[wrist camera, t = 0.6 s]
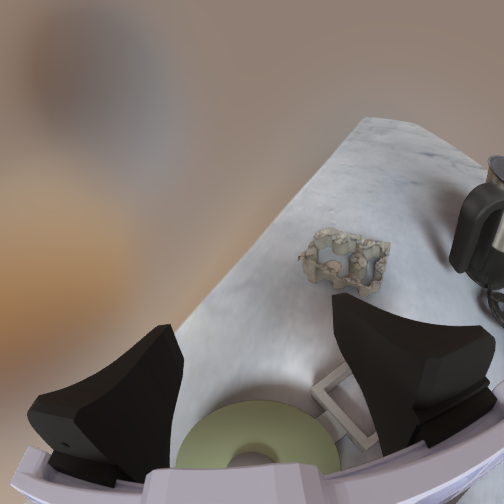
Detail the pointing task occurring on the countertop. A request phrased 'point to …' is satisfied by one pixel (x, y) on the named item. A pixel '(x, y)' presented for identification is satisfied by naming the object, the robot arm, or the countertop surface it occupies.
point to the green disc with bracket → (274, 433)
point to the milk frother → (483, 236)
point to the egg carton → (357, 261)
